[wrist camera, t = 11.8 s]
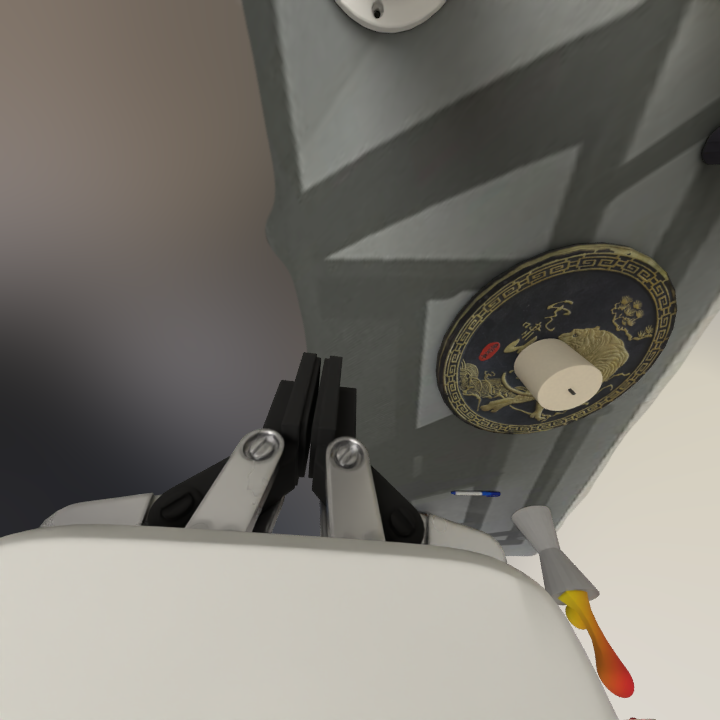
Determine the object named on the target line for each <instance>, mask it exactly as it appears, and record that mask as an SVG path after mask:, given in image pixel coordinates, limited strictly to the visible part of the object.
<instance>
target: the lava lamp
mask: <svg viewBox="0 0 720 720" xmlns="http://www.w3.org/2000/svg"><path fill="white" fill-rule="evenodd" d="M512 521H513V522H514V523H515V525H516V526H517V527H518V528H519V530H520V531H521V532H522V533H523V535H524V536H525V537H526V538H527V540H528V541H529V542H530V543H531V545H532V546H533V547H534V548H535V550H536V551H537V552H538V553H539V556H540V562H541V568H542V573H543V579H544V585H545V590H546V591H547V592H548V593H549V594H550V596H551V597H552V598H553V599H554V601H555V602H556V603H557V605H567V606H566V615H567V618H568V620H569V621H570V622H571V623H572V624H573V625H574V626H575V627H577V628H579V629H583V630H584V629H587V630H588V633H589V635H590V637H591V639H592V643H593V646H594V651H595V658H596V667H597V672H598V675H599V677H600V679H601V681H602V682H603V684H604V685H605V686H606V687H607V688H608V690H610V691H611V692H612V693H614V694H615V695H617V696H619V697H622V698H628V697H630V696H631V695H632V694H633V692H634V683H633V679H632V677H631V675H630V673H629V672H628V670H627V669H626V667H625V666H624V665H623V663H622V662H621V661H620V659H619V658H618V656H617V655H616V653H615V652H614V651H613V649H612V647H611V646H610V645H609V643H608V641H607V640H606V638H605V636H604V635H603V633H602V631H601V629H600V628H599V626H598V624H597V622H596V620H595V617H594V615H593V613H592V611H591V608H590V604H589V601H590V600H593V599H595V598H597V597H598V596H599V591H598V590H597V589H596V588H595V587H594V586H593V585H592V583H591V582H590V581H589V580H588V579H587V578H586V577H585V576H584V575H583V574H582V572H581V571H580V570H579V569H578V568H577V567H576V566H575V565H574V564H573V563H572V562H571V561H570V559H568V557H567V556H566V555H565V554H564V553H563V552H562V551H561V550H560V547H559V543H558V539H557V535H556V531H555V527H554V523H553V519H552V515H551V511H550V509H549V508H548V507H545V506H538V505H537V506H529V507H525V508H522V509H520V510H518V511H517V512H515V513H514V514H513V515H512ZM629 720H655V719H636V718H630V719H629Z"/></svg>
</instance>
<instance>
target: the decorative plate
mask: <svg viewBox="0 0 720 720" xmlns="http://www.w3.org/2000/svg"><path fill="white" fill-rule="evenodd" d="M676 312H677V304H676V295H675V289H674V287H673V285H672V282H671V280H670V278H669V276H668V274H667V272H666V271H665V270H663V269H662V268H661V267H660V266H659V265H658V264H657V263H656V262H655V261H654V260H653V259H652V258H651V257H649V256H647V255H645V254H643V253H640V252H638V251H636V250H634V249H632V248H630V247H627V246H622V245H615V244H609V243H588V244H574V245H570V246H566V247H563V248H559V249H555V250H551V251H547V252H544V253H542V254H539V255H537V256H535V257H532V258H530V259H528V260H526V261H523V262H521V263H519V264H517V265H515V266H514V267H512V268H510V269H509V270H507V271H506V272H504V273H502V274H501V275H499V276H498V277H496V278H494V279H493V280H492V281H490V282H489V283H488V284H487V285H486V286H485V287H483V288H482V289H481V290H480V291H479V292H478V293H476V294H475V295H474V296H473V297H472V298H471V299H470V300H469V302H468V303H467V304H466V305H465V306H464V307H463V309H462V310H461V311H460V312H459V313H458V314H457V316H456V317H455V319H454V321H453V322H452V324H451V326H450V327H449V329H448V331H447V332H446V334H445V336H444V338H443V341H442V344H441V347H440V350H439V352H438V357H437V365H436V377H437V385H438V388H439V391H440V393H441V396H442V398H443V400H444V402H445V404H446V405H447V406H448V407H449V409H450V410H451V411H452V412H453V414H454V415H456V416H457V417H458V418H460V419H461V420H462V421H464V422H465V423H467V424H469V425H472V426H474V427H476V428H478V429H482V430H486V431H490V432H493V433H503V434H527V433H533V432H539V431H545V430H549V429H553V428H556V427H560V426H563V425H566V424H569V423H571V422H574V421H576V420H579V419H581V418H583V417H586V416H587V415H589V414H591V413H593V412H595V411H597V410H599V409H601V408H603V407H604V406H606V405H607V404H609V403H610V402H612V401H613V400H615V399H616V398H618V397H619V396H621V395H622V394H623V393H625V392H626V391H627V390H628V389H629V388H630V387H632V386H633V385H634V384H635V383H636V382H638V381H639V379H640V378H641V377H642V376H643V375H644V374H645V373H646V372H647V371H648V370H649V369H650V368H651V366H652V365H653V364H654V363H655V361H656V360H657V358H658V357H659V355H660V354H661V352H662V351H663V349H664V348H665V346H666V344H667V341H668V339H669V337H670V335H671V332H672V330H673V327H674V322H675V317H676ZM543 339H558V340H561V341H563V342H564V343H566V344H567V345H568V346H570V347H571V348H572V349H573V350H575V351H576V352H577V353H578V354H580V355H581V356H582V357H583V358H585V359H586V360H587V361H588V362H590V363H591V364H592V365H594V366H595V367H596V368H597V369H598V370H599V371H600V372H601V374H602V384H601V387H600V388H599V390H598V391H597V393H596V394H595V395H594V396H593V397H592V398H590V399H589V400H588V401H586V402H585V403H583V404H581V405H579V406H577V407H575V408H572V409H568V410H563V411H552V410H548V409H545V408H544V407H542V406H541V405H540V404H539V403H538V401H537V400H536V399H535V398H534V396H533V395H532V394H531V393H530V391H529V390H528V389H527V388H526V386H525V385H524V384H523V383H522V382H521V380H520V379H519V378H518V377H517V375H516V374H515V371H514V364H515V361H516V358H517V357H518V355H519V354H520V353H521V352H522V351H523V350H524V349H525V348H526V347H527V346H529V345H531V344H532V343H534V342H537V341H540V340H543Z"/></svg>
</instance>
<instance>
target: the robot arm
mask: <svg viewBox="0 0 720 720" xmlns="http://www.w3.org/2000/svg"><path fill="white" fill-rule="evenodd" d="M446 1H447V0H335V2H336V3H337V4H338V5H339V6H340V7H341V8H342V10H343V11H344V12H345V13H346V14H347V15H348V16H349V17H350V18H352V19H353V20H355V21H356V22H358V23H359V24H360V25H362V26H363V27H366V28H369V29H371V30H374V31H377V32H385V33H396V32H401V31H405V30H410V29H411V28H413V27H415V26H417V25H419V24H421V23H423V22H425V21H426V20H427V19H428V18H430V17H431V16H432V15H433V14H434V13H436V12H437V11H438V10H439V9H440V8H441V7H442V6H443V4H444V3H445V2H446ZM375 11H379V12H380V17H379V18H377V19H376V18H375V17H374V12H375ZM320 366H321V358H318V357H317V354H313V353H305V352H304V353H303V356H302V360H301V363H300V366H299V369H298V372H297V376H296V379H295V382H294V381H286V380H281V382H280V384H279V387H278V389H277V392H276V394H275V397H274V400H273V402H272V405H271V408H270V410H269V413H268V416H267V418H266V421H265V424H264V426H263V429H257V430H254V431H252V432H250V433H248V434H247V435H245V436H244V437H243V439H242V440H241V441H240V443H239V444H238V446H237V447H236V449H235V450H234V452H233V453H232V455H231V456H229V457H228V458H226V459H224V460H222V461H220V462H218V463H217V464H215V465H213V466H211V467H209V468H208V469H206V470H204V471H202V472H200V473H198V474H196V475H195V476H193V477H191V478H189V479H187V480H186V481H184V482H182V483H180V484H178V485H176V486H175V487H173V488H171V489H169V490H168V491H166V492H165V493H163V494H162V495H156V496H154V494H153V493H148V494H140V495H133V496H125V497H118V498H111V499H103V500H96V501H88V502H82V503H77V504H73V505H69V506H67V507H65V508H63V509H61V510H59V511H57V512H55V513H54V514H53V515H52V516H50V517H49V518H48V519H46V520H45V521H44V523H43V524H42V525H41V526H40V527H39V528H38V529H33V530H28V531H24V532H20V533H15V534H12V535H8V536H5V537H1V538H0V720H618V717H617V715H616V713H615V712H614V709H613V707H612V705H611V703H610V701H609V699H608V697H607V695H606V692H605V690H604V688H603V686H602V684H601V682H600V680H599V678H598V676H597V674H596V672H595V670H594V668H593V666H592V664H591V662H590V660H589V658H588V656H587V654H586V652H585V650H584V648H583V647H582V645H581V643H580V641H579V639H578V637H577V636H576V634H575V632H574V630H573V628H572V627H571V625H570V623H569V621H568V620H567V618H566V617H565V615H564V613H563V612H562V610H561V609H560V608H559V606H558V605H557V603H556V602H555V601H554V599H553V598H552V597H551V596H550V594H549V593H548V592H547V591H546V590H545V589H544V588H543V587H541V586H540V585H539V584H538V583H537V582H536V581H534V580H533V579H531V578H530V577H529V576H527V575H526V574H524V573H523V572H521V571H519V570H518V569H516V568H514V567H512V566H511V565H509V564H507V560H506V557H505V554H504V551H503V549H502V548H501V546H500V544H499V543H498V542H497V541H496V540H495V539H494V538H493V537H492V536H491V535H489V534H487V533H485V532H483V531H480V530H477V529H474V528H471V527H468V526H465V525H462V524H459V523H456V522H453V521H450V520H447V519H444V518H441V517H437V516H434V515H431V514H429V515H428V516H425V515H422V514H419V512H418V511H417V510H416V509H415V507H414V506H413V505H411V504H410V503H409V502H408V501H407V500H406V499H405V498H404V497H403V496H402V495H401V494H400V493H399V492H398V491H397V490H396V489H395V488H394V487H393V486H392V485H391V484H390V483H389V482H388V481H387V480H386V479H385V478H384V477H383V476H382V475H381V474H380V473H378V472H377V471H376V470H375V469H374V468H373V467H372V466H371V465H370V460H369V455H368V452H367V449H366V447H365V446H364V444H363V443H362V442H360V441H359V440H358V439H356V388H347V387H340V378H341V368H342V357H337V356H330V359H327V358H325V360H324V366H323V371H322V376H321V382H320V387H319V378H320ZM318 391H319V392H318ZM310 443H311V448H310ZM309 448H310V462H309V478H313V483H312V491H313V492H314V493H315V494H316V496H318V498H319V499H320V533H321V537H315V536H300V535H299V536H298V535H285V534H271V533H272V530H273V528H274V525H275V523H276V520H277V517H278V515H279V512H280V510H281V507H282V505H283V502H284V498H285V495H286V494H287V493H289V492H290V491H292V490H293V489H294V488H295V485H297V484H298V479H299V477H304V475H305V470H306V464H307V459H308V454H309Z"/></svg>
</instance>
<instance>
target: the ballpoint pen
mask: <svg viewBox="0 0 720 720" xmlns="http://www.w3.org/2000/svg"><path fill="white" fill-rule="evenodd" d="M451 494H454V495H491V496H487V497H497V496H496V495H498V496H500V492H464V491H454V492H451ZM493 495H495V496H493Z"/></svg>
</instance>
